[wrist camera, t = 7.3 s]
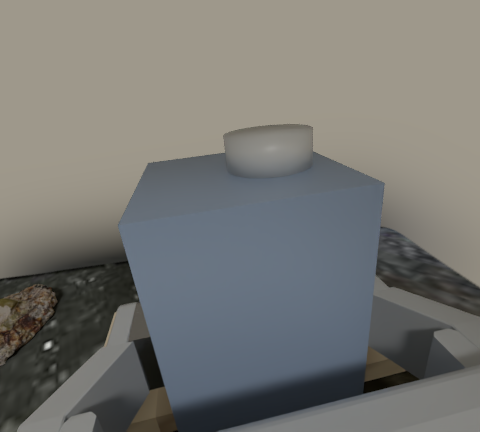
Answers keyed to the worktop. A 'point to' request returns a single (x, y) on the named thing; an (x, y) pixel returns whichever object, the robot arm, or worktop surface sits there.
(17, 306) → the mineral rock
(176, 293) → the block
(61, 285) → the worktop surface
